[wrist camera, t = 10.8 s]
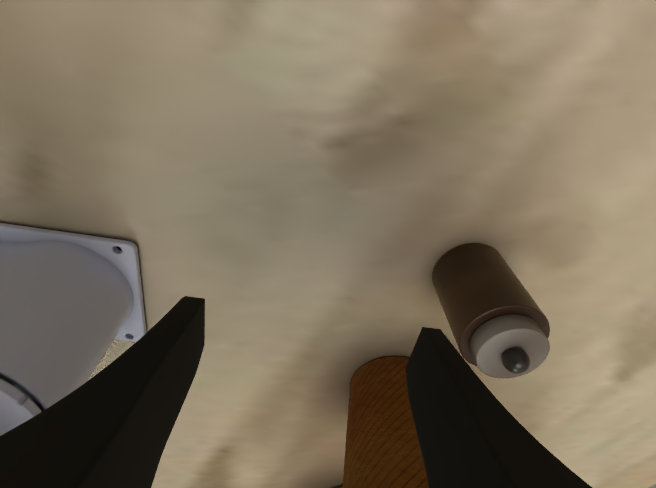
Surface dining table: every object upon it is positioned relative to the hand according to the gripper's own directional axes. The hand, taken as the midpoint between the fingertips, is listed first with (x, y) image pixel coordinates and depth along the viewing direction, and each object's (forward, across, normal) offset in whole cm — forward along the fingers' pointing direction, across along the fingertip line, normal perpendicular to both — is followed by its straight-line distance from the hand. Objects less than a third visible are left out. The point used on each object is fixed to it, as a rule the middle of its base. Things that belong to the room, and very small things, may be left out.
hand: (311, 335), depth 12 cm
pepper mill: (+10, -10, +3) cm, 14 cm away
